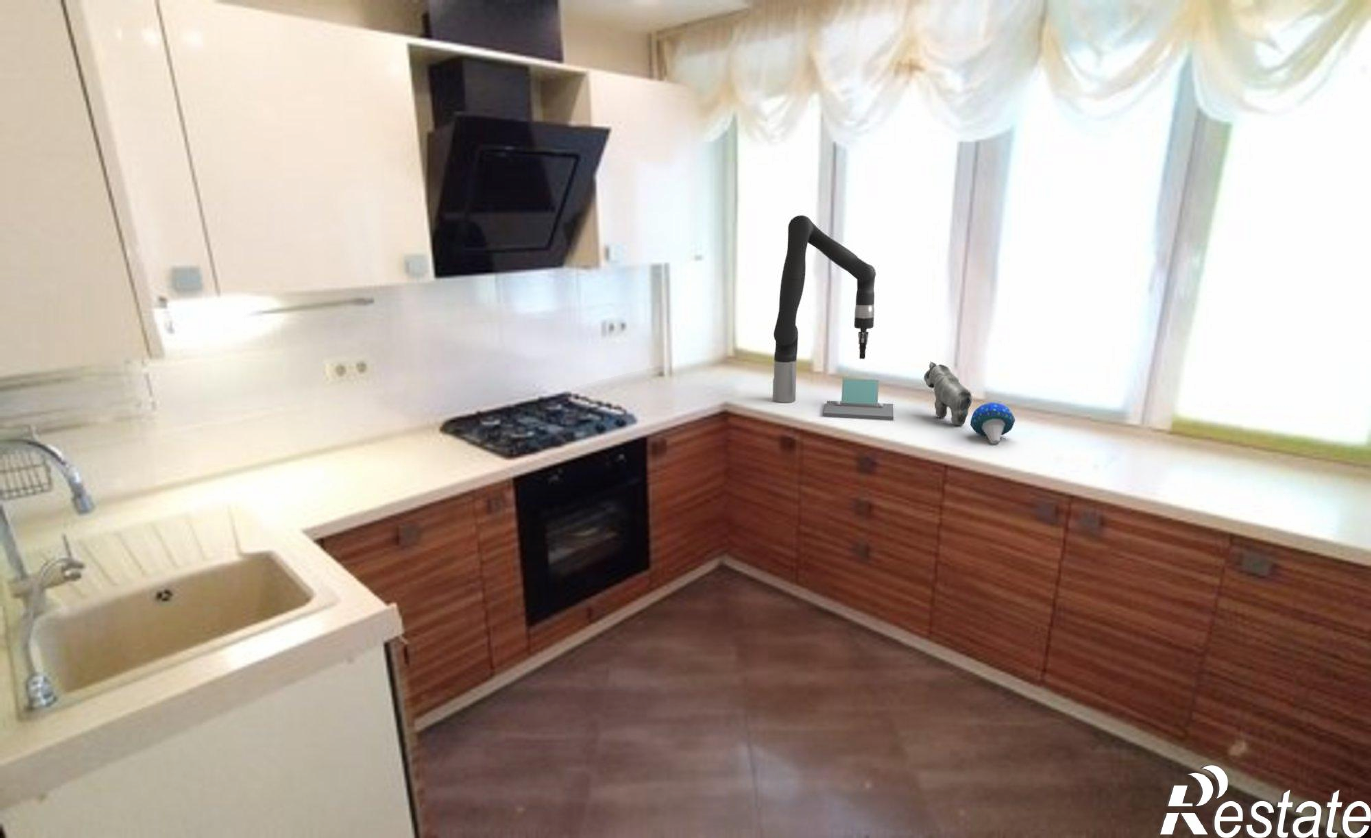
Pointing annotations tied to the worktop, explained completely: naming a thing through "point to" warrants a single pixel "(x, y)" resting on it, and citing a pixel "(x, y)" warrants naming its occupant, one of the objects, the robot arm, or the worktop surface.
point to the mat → (859, 411)
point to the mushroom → (992, 421)
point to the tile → (860, 391)
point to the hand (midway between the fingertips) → (862, 358)
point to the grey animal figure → (948, 393)
